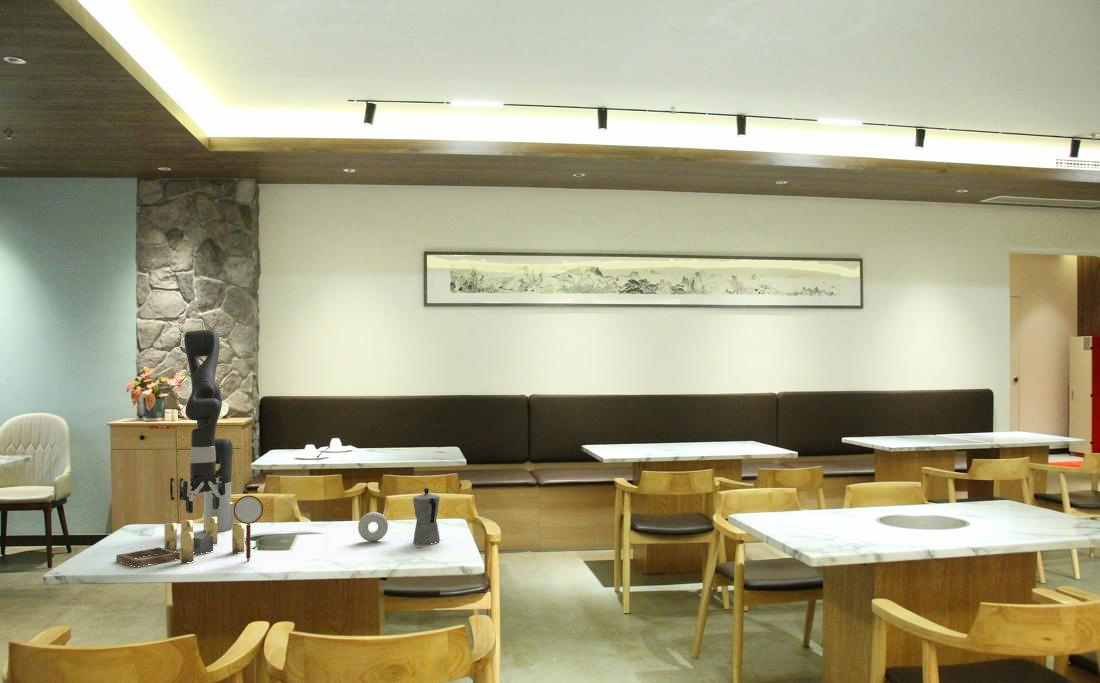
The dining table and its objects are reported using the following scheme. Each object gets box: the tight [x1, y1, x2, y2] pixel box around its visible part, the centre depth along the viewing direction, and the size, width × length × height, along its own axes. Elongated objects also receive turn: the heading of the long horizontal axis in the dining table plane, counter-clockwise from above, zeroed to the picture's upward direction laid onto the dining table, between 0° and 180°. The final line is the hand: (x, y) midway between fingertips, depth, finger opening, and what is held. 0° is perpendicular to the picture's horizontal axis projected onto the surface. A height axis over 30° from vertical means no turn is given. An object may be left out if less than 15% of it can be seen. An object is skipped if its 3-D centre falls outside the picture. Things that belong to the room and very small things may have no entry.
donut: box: [357, 511, 389, 542], centre depth 276 cm, size 10×4×10 cm, turn 103°
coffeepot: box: [412, 487, 441, 545], centre depth 274 cm, size 15×9×18 cm, turn 26°
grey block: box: [193, 534, 214, 555], centre depth 262 cm, size 4×4×5 cm
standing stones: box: [163, 516, 245, 564], centre depth 261 cm, size 22×23×9 cm
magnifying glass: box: [233, 494, 264, 562], centre depth 249 cm, size 9×2×20 cm, turn 99°
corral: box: [115, 546, 181, 568], centre depth 251 cm, size 13×13×2 cm
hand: (202, 511), depth 262 cm, fingers open, 8 cm apart
